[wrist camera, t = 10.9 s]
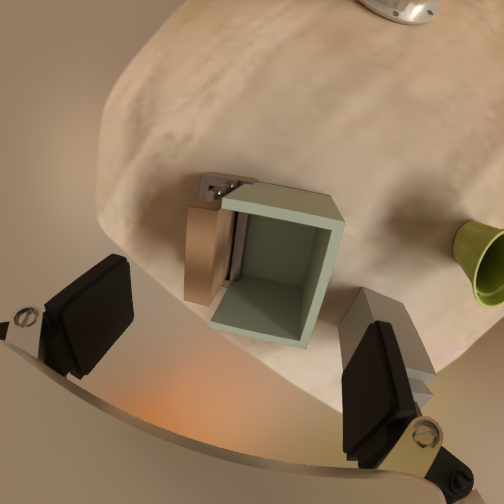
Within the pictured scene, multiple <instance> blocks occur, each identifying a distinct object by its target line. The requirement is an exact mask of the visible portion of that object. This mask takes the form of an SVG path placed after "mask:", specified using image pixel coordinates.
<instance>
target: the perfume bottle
mask: <svg viewBox="0 0 504 504" xmlns="http://www.w3.org/2000/svg"><path fill="white" fill-rule="evenodd" d="M376 320H379V321H384V322H389V323H391V324H392V327H393V330H394V333H395V336H396V339H397V342H398V345H399V348H400V352H401V355H402V358H403V362H404V365H405V368H406V372H407V376H408V379H409V383H410V387H411V391H412V395H413V399H414V403H415V407H416V412H417V417H420V416H422V413H421V411H420V408H421V407H422V406H423V405H424V404H426V403H427V402H428V401H429V400H430V399H431V398H432V397H433V396H434V395H433V394H432V393H431V391H430V390H429V389H428V388H427V387H426V386H427V385H428V384H429V383H430V382H431V380H432V379H433V378H434V377H435V376H436V373H435V370H434V368H433V366H432V363H431V361H430V359H429V356H428V354H427V352H426V350H425V347H424V345H423V343H422V341H421V339H420V337H419V335H418V332H417V330H416V328H415V326H414V324H413V322H412V320H411V318H410V316H409V314H408V312H407V310H406V308H405V306H404V305H403V303H401V302H398V301H396V300H393V299H391V298H388V297H386V296H384V295H381V294H379V293H376V292H374V291H371V290H369V289H367V288H364V287H362V289H361V290H360V292H359V294H358V296H357V297H356V299H355V300H354V302H353V304H352V305H351V307H350V309H349V310H348V312H347V313H346V315H345V317H344V318H343V320H342V321H341V323H340V324H339V326H338V332H339V340H340V348H341V357H342V366H343V371H344V369H345V368H346V366H347V364H348V363H349V361H350V359H351V357H352V355H353V354H354V352H355V350H356V348H357V346H358V345H359V343H360V341H361V339H362V337H363V335H364V333H365V331H366V329H367V327H368V326H369V324H370V323H374V322H375V321H376Z"/></svg>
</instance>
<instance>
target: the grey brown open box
mask: <svg viewBox="0 0 504 504" xmlns="http://www.w3.org/2000/svg"><path fill="white" fill-rule="evenodd" d="M255 182H257V179H253V178H247V177H241V176H235V175H228V174H221V173H214V172H209V173H205V174H202V175H201V181H200V190H199V200H201V199H203V198H205V197H206V198H205V200H207V201H214V200H218V199H220V198H221V197H223V196H224V195H226V194H227V193H228V192H231V191H232V190H234V189H237V188H239V187H240V186H242V185H244V184H250V185H253V184H254V183H255ZM250 218H251V214H250V213H245V212H238V220H237V227H236V235H235V243H234V250H233V258H232V266H231V270H230V271H229V273H228V275H227V276H226V278H225V280H224V282H223V283H222V285H221V286H222V287H226V288H228V287H229V285H230V283H231V282H232V281H234V282H239V280H240V277H241V275H242V272H243V265H244V258H245V251H246V245H247V238H248V231H249V224H250Z"/></svg>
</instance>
